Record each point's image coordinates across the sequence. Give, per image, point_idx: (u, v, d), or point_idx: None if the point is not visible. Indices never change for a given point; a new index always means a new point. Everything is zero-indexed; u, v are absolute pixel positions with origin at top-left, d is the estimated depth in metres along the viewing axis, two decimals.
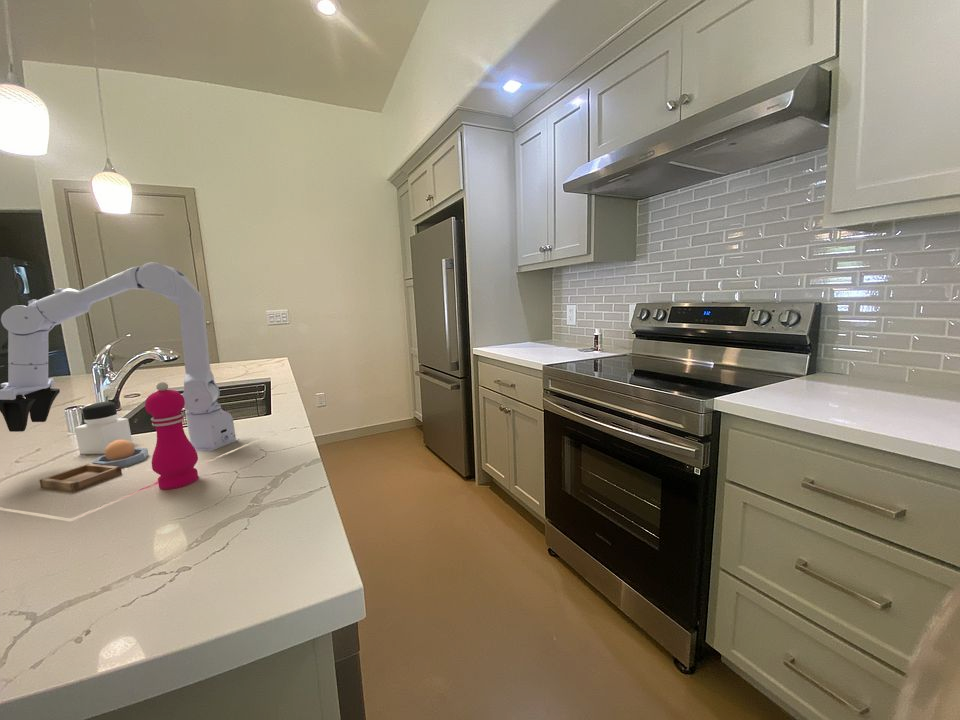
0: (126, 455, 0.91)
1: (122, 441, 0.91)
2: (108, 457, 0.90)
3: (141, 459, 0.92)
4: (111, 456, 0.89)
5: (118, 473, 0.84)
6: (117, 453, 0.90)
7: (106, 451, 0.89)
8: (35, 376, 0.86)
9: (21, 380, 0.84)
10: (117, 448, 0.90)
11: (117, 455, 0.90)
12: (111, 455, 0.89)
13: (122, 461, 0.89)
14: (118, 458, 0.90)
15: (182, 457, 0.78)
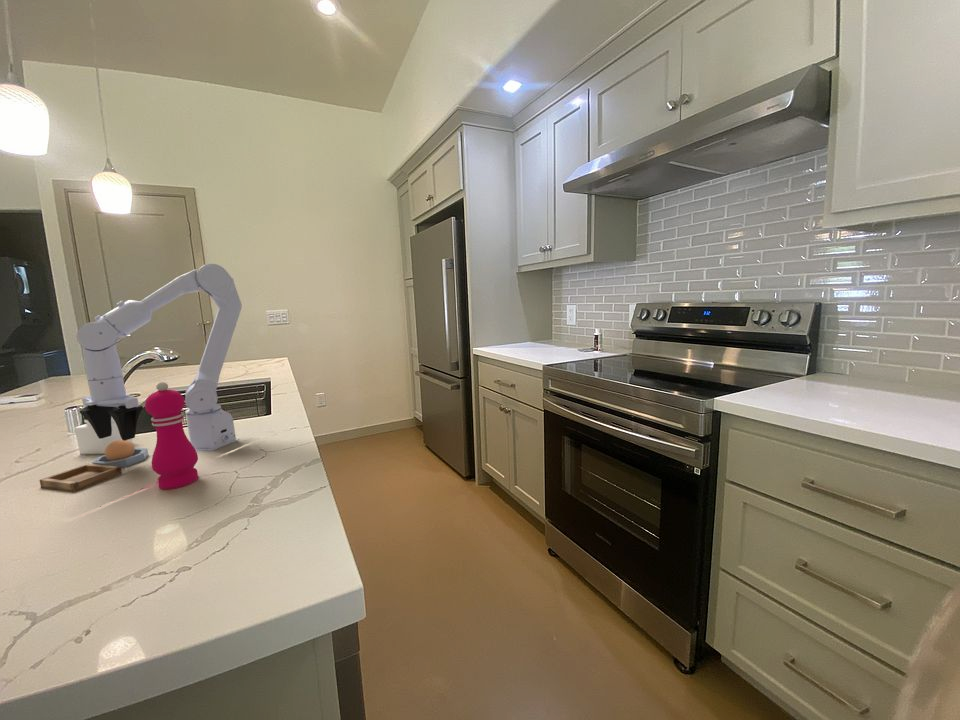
0: (126, 455, 0.91)
1: (122, 441, 0.91)
2: (108, 457, 0.90)
3: (141, 459, 0.92)
4: (111, 456, 0.89)
5: (118, 473, 0.84)
6: (117, 453, 0.90)
7: (106, 451, 0.89)
8: (124, 387, 0.91)
9: (118, 392, 0.89)
10: (117, 448, 0.90)
11: (117, 455, 0.90)
12: (111, 455, 0.89)
13: (122, 461, 0.89)
14: (118, 458, 0.90)
15: (182, 457, 0.78)
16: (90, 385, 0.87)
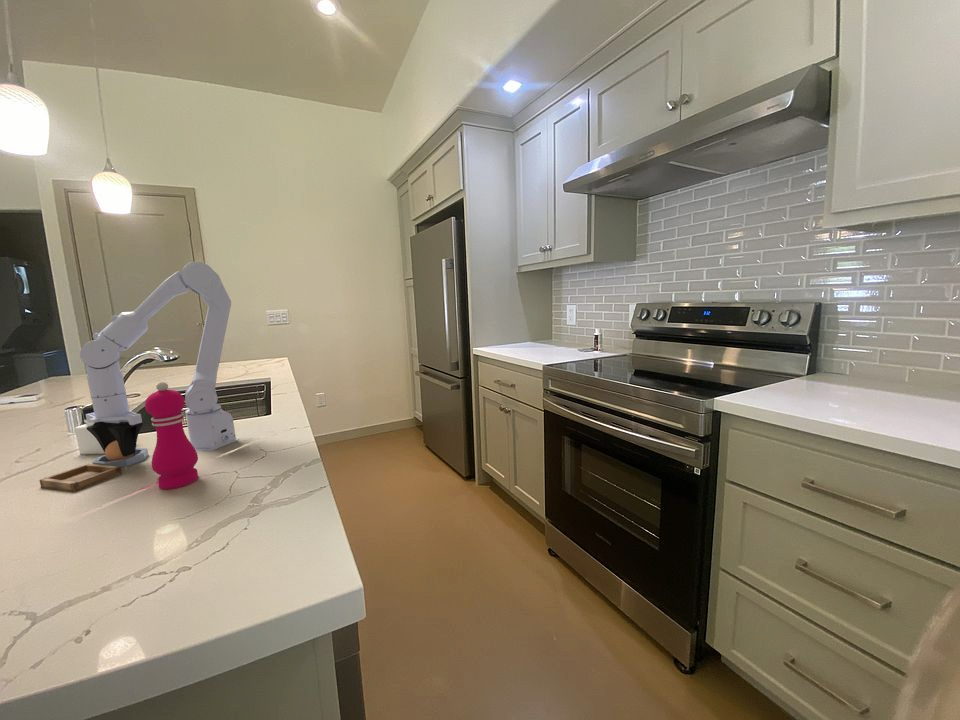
0: None
1: None
2: (108, 457, 0.90)
3: (141, 459, 0.92)
4: (111, 456, 0.89)
5: (118, 473, 0.84)
6: (117, 453, 0.90)
7: (106, 451, 0.89)
8: (127, 403, 0.91)
9: (121, 409, 0.90)
10: (117, 448, 0.90)
11: (117, 455, 0.90)
12: (111, 455, 0.89)
13: (122, 461, 0.89)
14: (118, 458, 0.90)
15: (182, 457, 0.78)
16: (94, 402, 0.87)
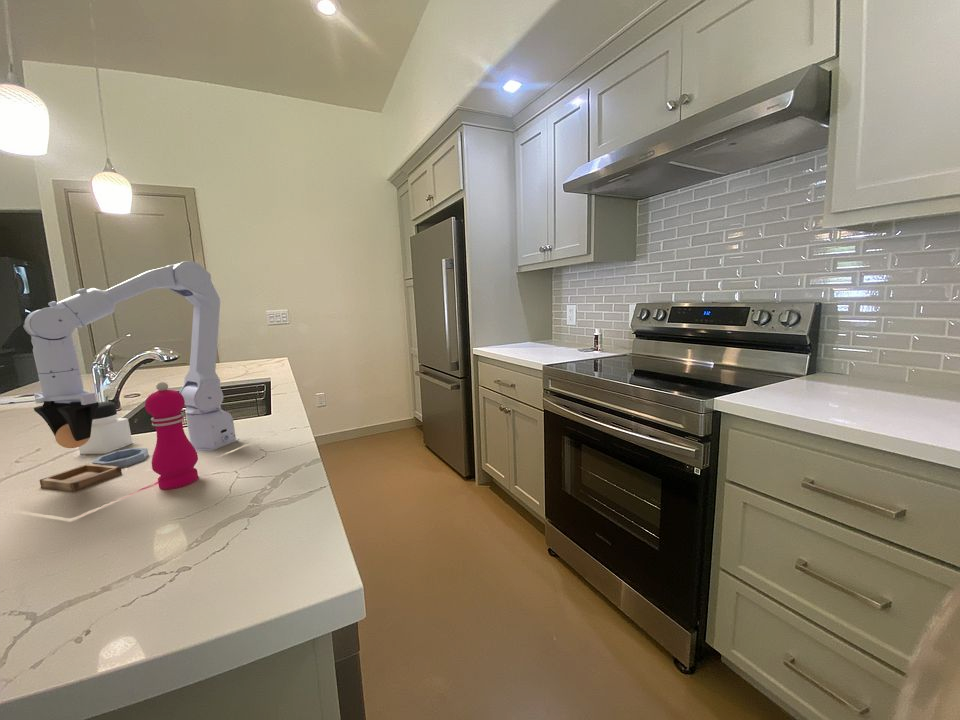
0: (80, 440, 0.81)
1: None
2: (59, 442, 0.79)
3: (141, 459, 0.92)
4: (62, 440, 0.79)
5: (118, 473, 0.84)
6: (70, 437, 0.79)
7: (57, 435, 0.79)
8: (81, 381, 0.81)
9: (73, 387, 0.79)
10: (70, 432, 0.79)
11: (70, 440, 0.79)
12: (62, 439, 0.79)
13: (122, 461, 0.89)
14: (71, 443, 0.80)
15: (182, 457, 0.78)
16: (40, 379, 0.77)
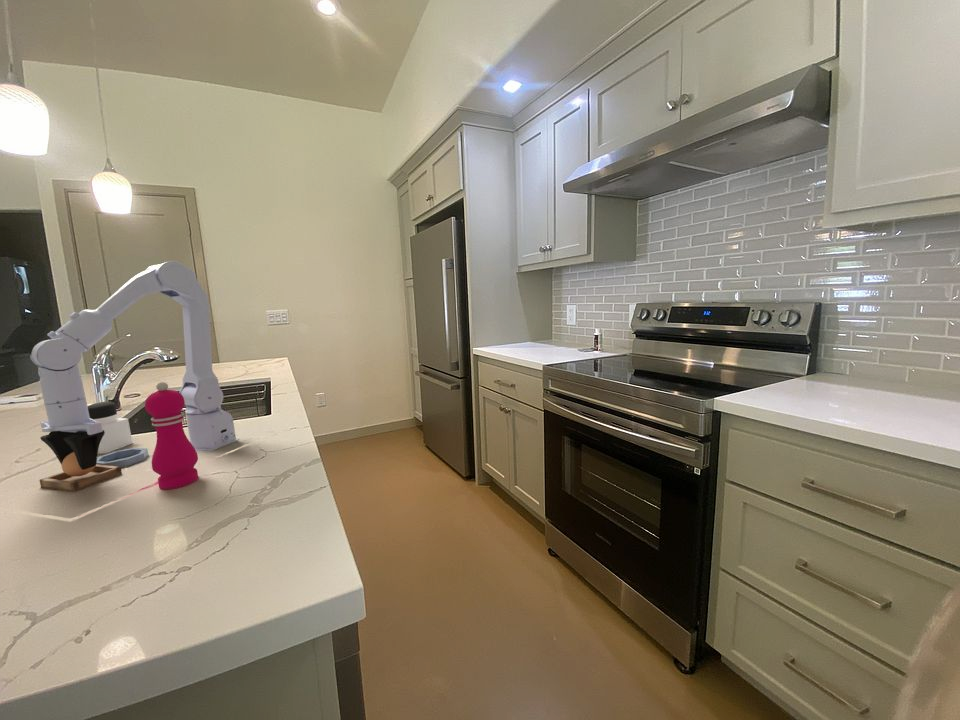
0: None
1: None
2: (65, 471, 0.80)
3: (141, 459, 0.92)
4: (68, 469, 0.80)
5: (118, 473, 0.84)
6: (76, 466, 0.80)
7: (63, 464, 0.80)
8: (87, 410, 0.82)
9: (79, 416, 0.80)
10: (76, 461, 0.80)
11: (76, 469, 0.80)
12: (69, 468, 0.80)
13: (122, 461, 0.89)
14: (77, 472, 0.81)
15: (182, 457, 0.78)
16: (47, 409, 0.78)
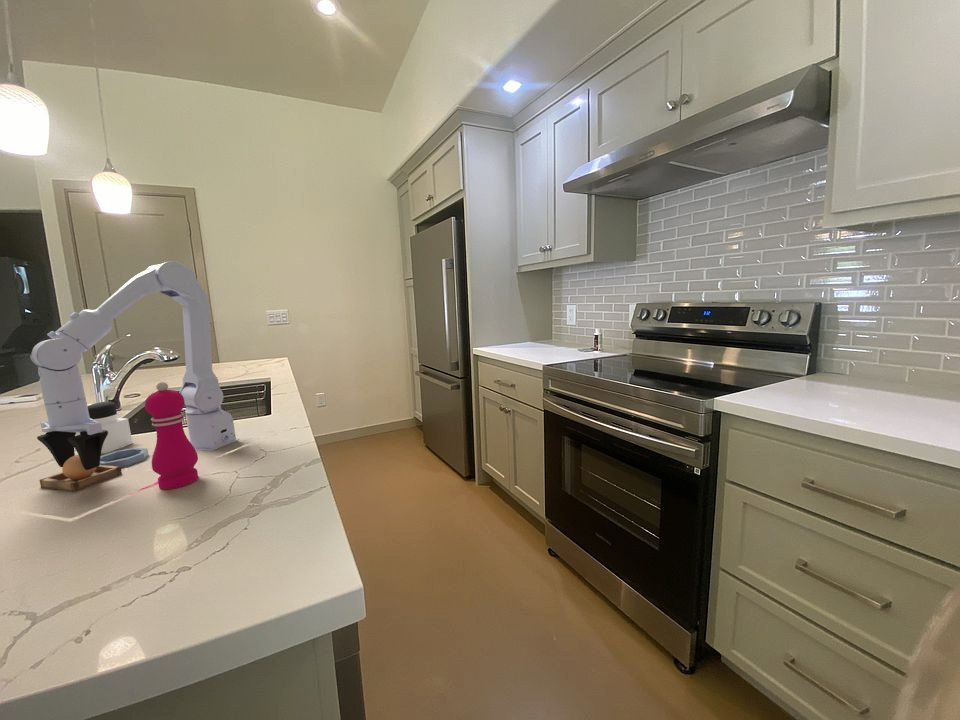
0: (87, 472, 0.82)
1: None
2: (66, 474, 0.80)
3: (141, 459, 0.92)
4: (69, 473, 0.80)
5: (118, 473, 0.84)
6: (77, 470, 0.80)
7: (64, 467, 0.80)
8: (87, 410, 0.82)
9: (79, 416, 0.80)
10: (77, 465, 0.80)
11: (77, 472, 0.80)
12: (70, 472, 0.80)
13: (122, 461, 0.89)
14: (78, 475, 0.81)
15: (182, 457, 0.78)
16: (47, 409, 0.78)
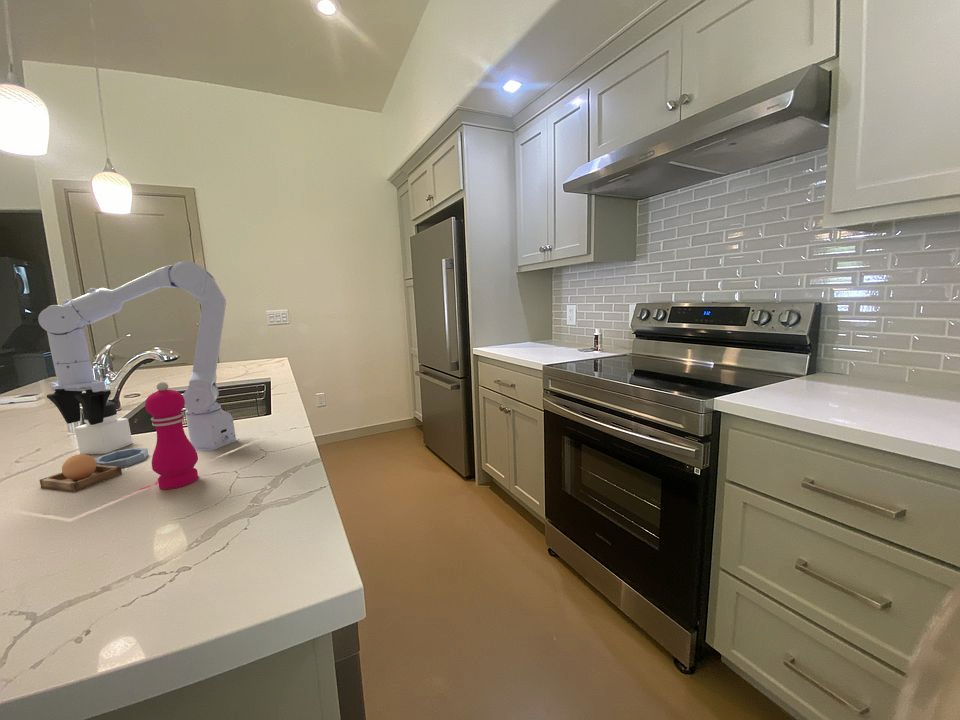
0: (87, 472, 0.82)
1: (81, 456, 0.82)
2: (66, 474, 0.80)
3: (141, 459, 0.92)
4: (69, 473, 0.80)
5: (118, 473, 0.84)
6: (76, 469, 0.80)
7: (63, 468, 0.80)
8: (91, 371, 0.90)
9: (85, 376, 0.88)
10: (76, 465, 0.80)
11: (76, 472, 0.80)
12: (69, 472, 0.80)
13: (122, 461, 0.89)
14: (77, 475, 0.81)
15: (182, 457, 0.78)
16: (56, 369, 0.86)
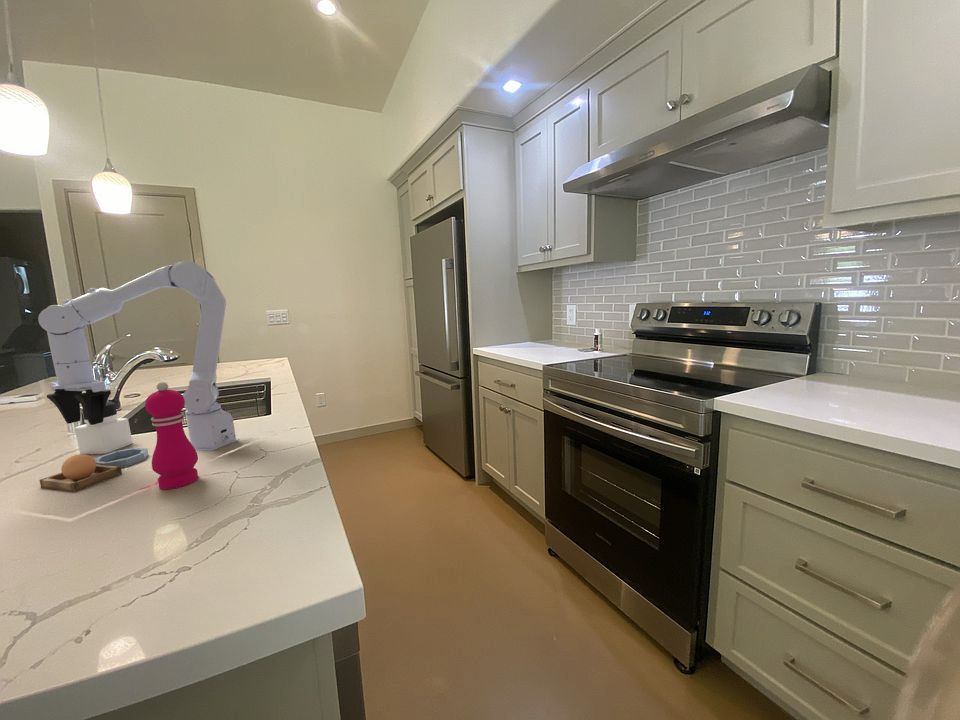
0: (86, 471, 0.82)
1: (81, 456, 0.82)
2: (65, 475, 0.80)
3: (141, 459, 0.92)
4: (68, 473, 0.80)
5: (118, 473, 0.84)
6: (76, 469, 0.80)
7: (63, 468, 0.80)
8: (91, 371, 0.90)
9: (85, 376, 0.88)
10: (75, 464, 0.80)
11: (76, 472, 0.80)
12: (69, 472, 0.80)
13: (122, 461, 0.89)
14: (77, 475, 0.81)
15: (182, 457, 0.78)
16: (56, 369, 0.86)
